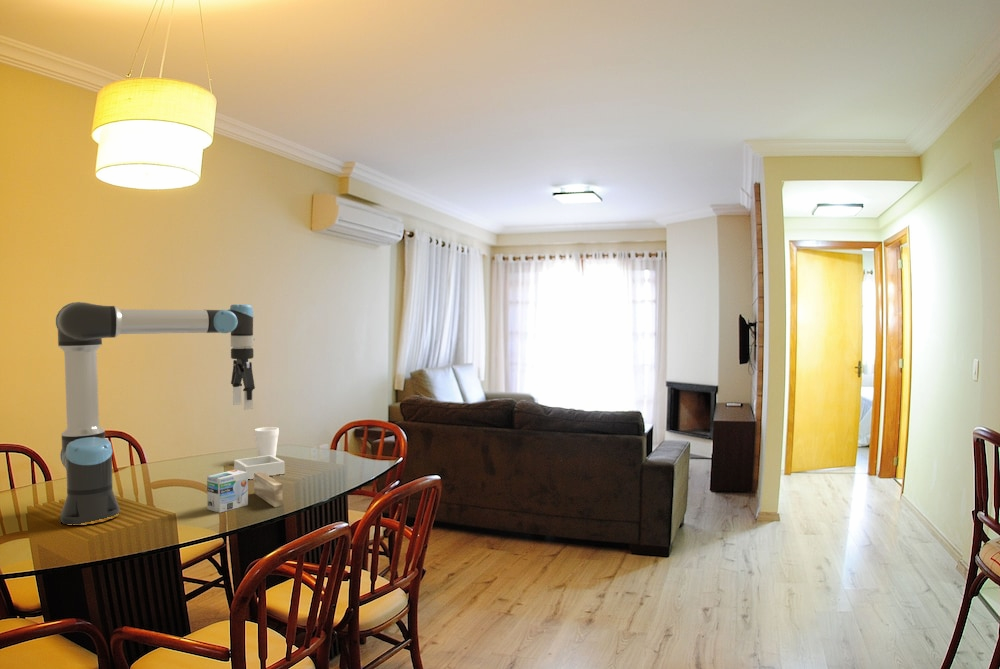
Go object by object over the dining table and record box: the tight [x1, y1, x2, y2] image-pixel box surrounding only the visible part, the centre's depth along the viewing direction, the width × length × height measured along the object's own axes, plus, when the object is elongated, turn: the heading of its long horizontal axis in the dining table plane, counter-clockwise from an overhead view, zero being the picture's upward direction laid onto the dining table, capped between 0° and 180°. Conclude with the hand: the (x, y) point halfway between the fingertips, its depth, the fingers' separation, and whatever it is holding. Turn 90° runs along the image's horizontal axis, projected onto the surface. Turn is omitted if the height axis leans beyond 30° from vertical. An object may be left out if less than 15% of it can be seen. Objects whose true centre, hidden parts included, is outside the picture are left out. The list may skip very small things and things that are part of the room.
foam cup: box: [254, 426, 280, 457], centre depth 279 cm, size 10×9×13 cm
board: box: [253, 472, 284, 508], centre depth 222 cm, size 2×20×7 cm, turn 38°
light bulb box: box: [206, 469, 249, 514], centre depth 213 cm, size 11×7×11 cm, turn 148°
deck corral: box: [233, 455, 286, 480], centre depth 256 cm, size 14×14×5 cm
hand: (242, 406), depth 241 cm, fingers open, 13 cm apart
